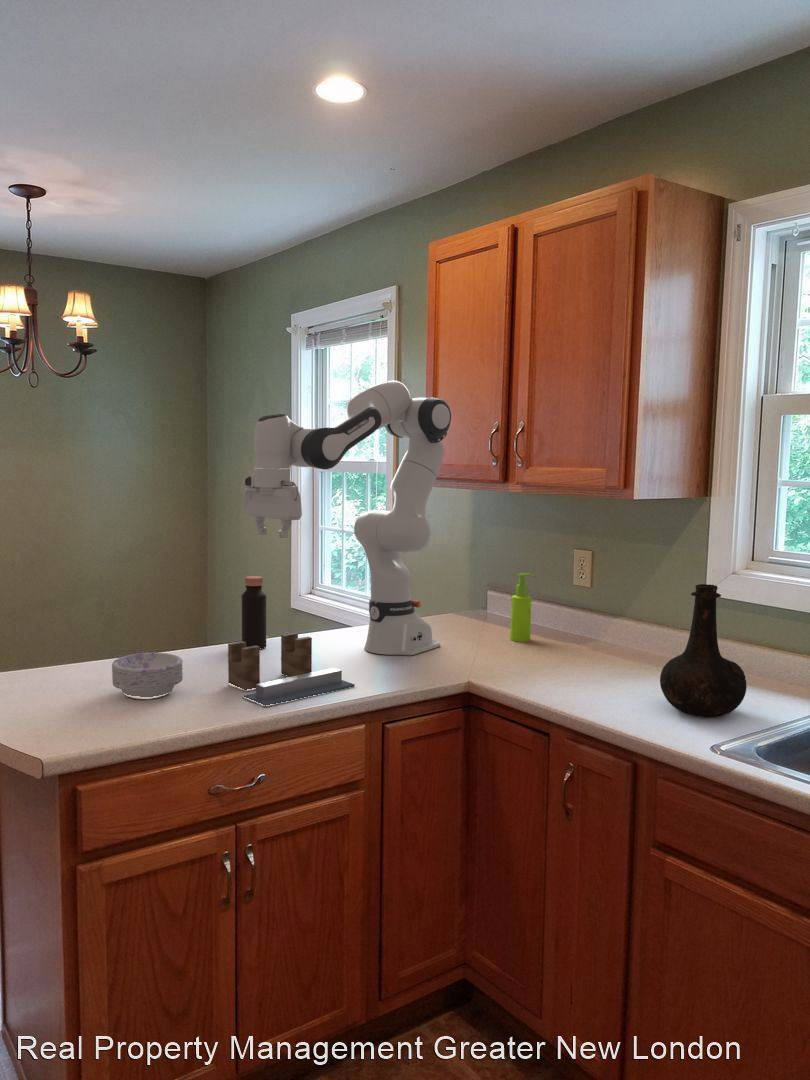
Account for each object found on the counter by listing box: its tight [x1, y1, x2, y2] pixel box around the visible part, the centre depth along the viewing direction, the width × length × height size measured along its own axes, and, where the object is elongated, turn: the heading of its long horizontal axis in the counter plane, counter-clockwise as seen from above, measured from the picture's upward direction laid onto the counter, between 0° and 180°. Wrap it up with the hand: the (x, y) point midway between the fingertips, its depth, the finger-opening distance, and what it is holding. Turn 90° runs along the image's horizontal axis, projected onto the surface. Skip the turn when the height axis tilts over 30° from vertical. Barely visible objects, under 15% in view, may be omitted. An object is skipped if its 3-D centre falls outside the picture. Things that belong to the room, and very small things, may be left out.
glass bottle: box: [659, 583, 747, 719], centre depth 180 cm, size 18×18×28 cm
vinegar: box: [241, 575, 267, 649], centre depth 233 cm, size 7×7×20 cm
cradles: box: [227, 632, 313, 690], centre depth 200 cm, size 19×7×10 cm, turn 133°
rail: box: [255, 667, 343, 700], centre depth 191 cm, size 22×3×3 cm, turn 133°
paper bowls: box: [111, 652, 184, 697], centre depth 188 cm, size 15×15×8 cm
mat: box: [242, 679, 356, 706], centre depth 192 cm, size 25×9×1 cm, turn 133°
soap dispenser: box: [509, 572, 536, 643], centre depth 249 cm, size 6×7×20 cm
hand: (272, 536), depth 207 cm, fingers open, 8 cm apart
